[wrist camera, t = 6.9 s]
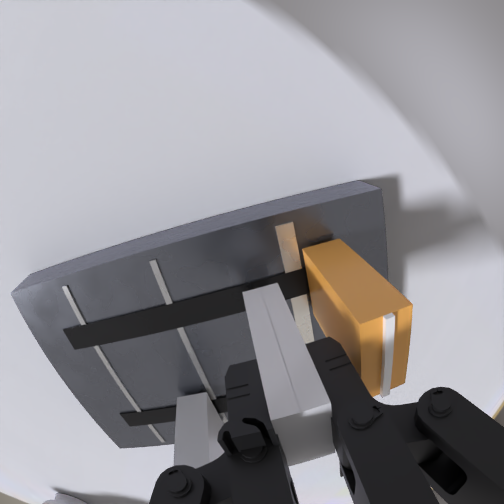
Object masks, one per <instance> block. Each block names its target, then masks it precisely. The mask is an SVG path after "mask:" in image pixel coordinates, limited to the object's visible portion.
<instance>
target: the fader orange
mask: <svg viewBox="0 0 504 504" xmlns="http://www.w3.org/2000/svg"><path fill="white" fill-rule="evenodd" d="M302 250H303V256H304V261H305V267H306V273H307V278H308V284H309V290H310V296H311V302H312V308H313V314H314V316H315V318H316V320H317V322H318V323H319V325H320V327H321V329H322V331H323V332H324V334H325V336H326V337H329V336H330V337H331V338H333V339H334V340H336V341H337V342H339V343H340V344H341V345H342V347H343V349H344V350H345V352H346V354H347V356H348V357H349V359H350V360H351V363H352V364H353V366H354V367H355V369H356V371H357V372H358V374H359V376H360V378H361V379H362V381H363V383H364V384H365V386H366V388H367V390H368V391H369V393H370V395H371V396H372V397H374V396H376V395H379V394H380V395H381V397H385V396H387V395H389V394H390V389H393V388H395V387H397V386H399V385H402V384H404V383H405V378H406V371H407V363H408V355H409V346H410V335H411V323H412V307H413V304H412V303H411V302H410V301H409V300H408V299H407V298H406V297H404V296H403V295H402V294H401V293H400V292H399V291H398V290H397V289H396V288H395V287H394V286H393V285H392V284H390V283H389V282H388V281H387V280H386V279H385V278H384V277H383V276H382V275H381V274H379V273H378V272H377V271H376V270H375V269H374V268H373V267H372V266H371V265H369V264H368V263H367V262H366V261H365V260H364V259H363V258H361V257H360V256H359V255H358V254H357V253H356V252H355V251H353V250H352V249H351V248H350V247H349V246H348V245H347V244H345V243H344V242H343V241H342V240H341V239H340V238H339V239H335V240H332V241H328V242H325V243H321V244H318V245H314V246H310V247H307V248H303V249H302Z"/></svg>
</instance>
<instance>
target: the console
mask: <svg viewBox="0 0 504 504" xmlns="http://www.w3.org/2000/svg"><path fill="white" fill-rule="evenodd" d="M339 238H340V239H341V240H342V241H343V242H344V243H345V244H347V245H348V246H349V247H350V248H351V249H352V250H353V251H355V252H356V253H357V254H358V255H359V256H360V257H361V258H363V259H364V260H365V261H366V262H367V263H368V264H369V265H371V266H372V267H373V268H374V269H375V270H376V271H377V272H378V273H379V274H381V275H382V276H383V277H384V278H385V279H386V280H387V281H388V266H387V246H386V231H385V218H384V208H383V198H382V189H381V188H379V187H376V186H373V185H370V184H368V183H365V182H362V181H359V180H358V181H353V182H349V183H344V184H340V185H336V186H331V187H327V188H323V189H319V190H314V191H310V192H306V193H302V194H298V195H294V196H290V197H286V198H282V199H278V200H274V201H270V202H266V203H262V204H258V205H255V206H251V207H247V208H243V209H239V210H236V211H232V212H228V213H225V214H221V215H217V216H214V217H210V218H207V219H203V220H199V221H196V222H192V223H189V224H185V225H182V226H179V227H175V228H172V229H168V230H165V231H162V232H158V233H155V234H151V235H148V236H145V237H142V238H138V239H135V240H132V241H129V242H125V243H122V244H119V245H116V246H113V247H110V248H107V249H103V250H100V251H97V252H94V253H91V254H88V255H85V256H82V257H79V258H76V259H73V260H70V261H67V262H64V263H61V264H58V265H55V266H53V267H50V268H47V269H44V270H41V271H38V272H35V273H33V274H30V275H29V276H28V277H27V278H26V279H25V280H24V281H23V282H22V283H21V284H20V285H18V286H17V287H16V288H15V289H14V290H13V291H12V292H11V295H12V297H13V299H14V301H15V303H16V305H17V307H18V309H19V311H20V313H21V314H22V316H23V318H24V320H25V322H26V323H27V325H28V327H29V329H30V330H31V332H32V334H33V335H34V337H35V339H36V340H37V342H38V344H39V345H40V347H41V348H42V350H43V352H44V353H45V355H46V356H47V358H48V359H49V361H50V362H51V364H52V365H53V367H54V368H55V370H56V371H57V372H58V374H59V375H60V377H61V378H62V379H63V381H64V382H65V384H66V385H67V386H68V388H69V389H70V390H71V392H72V393H73V394H74V396H75V397H76V398H77V399H78V401H79V402H80V403H81V405H82V406H83V407H84V408H85V409H86V411H87V412H88V413H89V414H90V416H91V417H92V418H93V419H94V420H95V421H96V423H97V424H98V425H99V426H100V427H101V428H102V429H103V431H104V432H105V433H106V434H107V435H108V436H109V437H110V438H111V439H112V440H113V442H114V443H115V444H116V445H117V446H118V447H119V448H135V447H148V446H160V445H169V444H175V425H176V408H177V397H183V396H188V395H194V394H199V393H204V392H207V394H208V396H209V398H210V399H211V401H212V403H213V405H214V407H215V409H216V411H217V413H218V414H219V416H220V418H221V420H222V422H223V424H225V423H226V422H227V421H229V420H228V410H227V399H226V389H225V378H224V377H225V375H226V372H227V370H228V368H229V365H234V364H238V363H242V362H246V361H250V360H254V359H257V358H256V353H255V349H254V344H253V340H252V335H251V331H250V326H249V321H248V317H247V312H246V307H245V303H244V298H243V293H242V292H245V291H249V290H253V289H256V288H260V287H264V286H267V285H271V284H274V283H278V285H279V287H280V289H281V292H282V294H283V296H284V298H285V301H286V303H287V305H288V307H289V309H290V312H291V314H292V316H293V318H294V321H295V323H296V325H297V327H298V330H299V332H300V334H301V336H302V338H303V341H304V343H305V344H307V343H310V342H313V341H316V340H320V339H323V338H326V336H325V334H324V332H323V331H322V329H321V327H320V325H319V323H318V322H317V320H316V318H315V316H314V314H313V308H312V302H311V296H310V290H309V284H308V278H307V273H306V267H305V261H304V256H303V250H302V249H303V248H307V247H310V246H314V245H318V244H321V243H325V242H328V241H332V240H335V239H339Z"/></svg>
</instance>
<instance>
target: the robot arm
mask: <svg viewBox="0 0 504 504" xmlns="http://www.w3.org/2000/svg"><path fill="white" fill-rule="evenodd" d="M242 293H243V298H244V303H245V307H246V312H247V317H248V321H249V326H250V331H251V335H252V340H253V344H254V349H255V353H256V358H257V359H254V360H250V361H246V362H242V363H238V364H234V365H229V368H228V370H227V372H226V375H225V377H224V378H225V389H226V399H227V410H228V420H229V421H227V422H226V423H225V424H223V426H222V427H221V429H220V430H219V432H218V438H217V441H218V443H219V444H220V446H221V447H222V449H223V450H224V453H223V454H222V455H221V456H220V457H219V458H217V459H215V460H214V461H212V462H210V463H208V464H205V465H203V466H201V467H198V468H196V469H195V468H194V467H191V466H187V465H175V466H173V467H170V468H168V469H166V470H165V471H164V472H163V473H161V474H160V476H159V478H158V479H157V481H156V484H155V487H154V490H153V493H152V496H151V499H150V502H149V504H299V502H298V498H297V495H296V491H295V487H294V483H293V480H292V478H291V475H290V471H289V467H288V466H292V465H295V464H299V463H303V462H306V461H310V460H313V459H316V458H320V457H323V456H326V455H329V454H332V453H335V449H336V452H337V454H338V457H339V460H340V476H341V477H342V476H344V479H345V481H346V484H347V487H348V489H349V492H350V495H351V497H352V500H353V502H354V504H439V502H438V500H437V499H436V497H435V495H434V493H433V491H432V489H431V487H432V488H433V489H434V490H435V491H436V492H437V493H438V494H439V495H440V496H441V497H442V498H443V499H444V500H445V501H446V502H447V503H448V504H504V427H503V426H501V425H500V424H499V423H497V422H496V421H495V420H494V419H492V418H491V417H490V416H488V415H487V414H486V413H484V412H483V411H482V410H480V409H479V408H478V407H476V406H475V405H474V404H472V403H471V402H470V401H468V400H467V399H466V398H464V397H463V396H462V395H460V394H459V393H458V392H456V391H454V390H452V389H450V388H446V387H437V388H432V389H430V390H428V391H427V392H425V393H424V394H423V395H422V396H421V397H420V399H419V401H418V402H416V403H410V404H403V405H386V404H383V403H380V402H378V401H377V400H375V399H374V398H373V397H372V396H371V395H370V393H369V391H368V390H367V388H366V386H365V384H364V383H363V381H362V379H361V378H360V376H359V374H358V372H357V371H356V369H355V367H354V366H353V364H352V363H351V360H350V359H349V357H348V356H347V354H346V352H345V350H344V349H343V347H342V345H341V344H340V343H339V342H337V341H336V340H334V339H333V338H331V337H330V336H329V337H326V338H323V339H320V340H316V341H313V342H310V343H307V344H305V343H304V341H303V338H302V336H301V334H300V332H299V330H298V327H297V325H296V323H295V321H294V318H293V316H292V314H291V312H290V309H289V307H288V305H287V303H286V301H285V298H284V296H283V294H282V292H281V289H280V287H279V285H278V283H274V284H271V285H267V286H264V287H260V288H256V289H253V290H249V291H245V292H242ZM430 486H431V487H430Z"/></svg>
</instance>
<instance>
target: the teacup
mask: <svg viewBox="0 0 504 504" xmlns="http://www.w3.org/2000/svg"><path fill="white" fill-rule="evenodd" d="M43 504H87V503H85V502H84V501H82V500H80V499H77V498H75V497H72V496H69V495H66V494H61V493H57V494H55V500H47V501H45V502H44V503H43Z"/></svg>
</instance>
